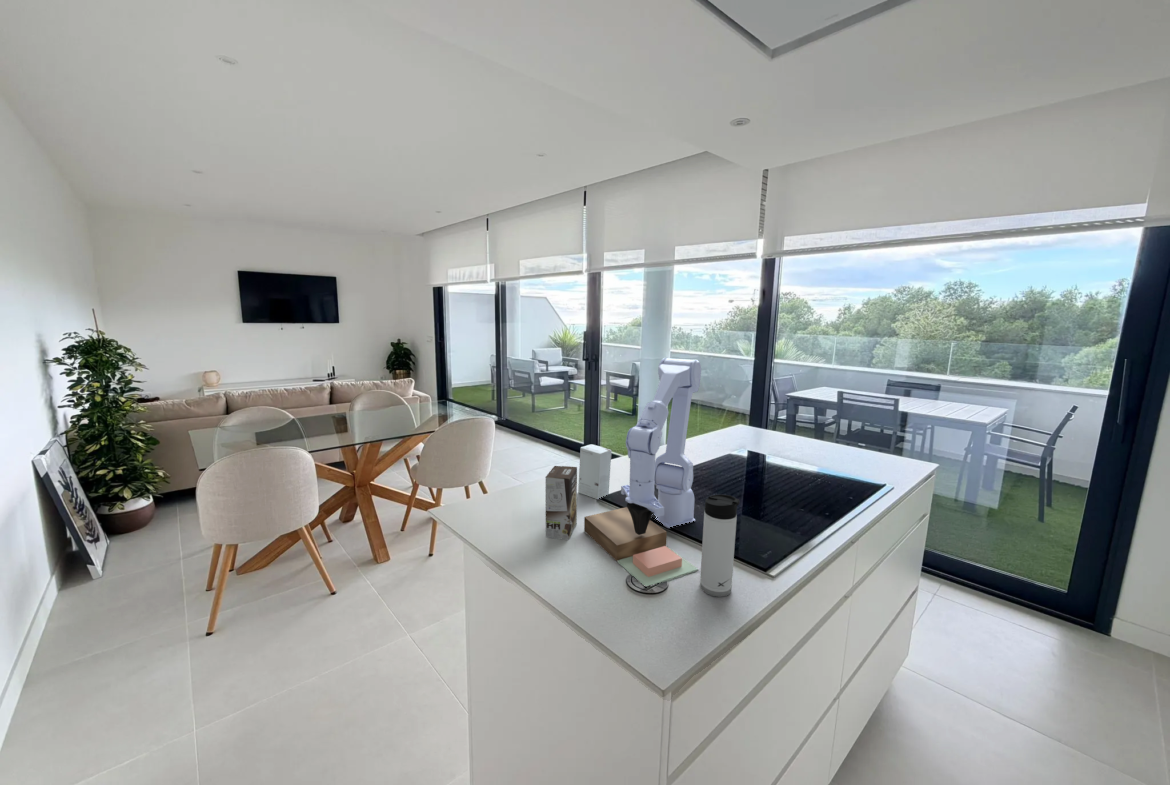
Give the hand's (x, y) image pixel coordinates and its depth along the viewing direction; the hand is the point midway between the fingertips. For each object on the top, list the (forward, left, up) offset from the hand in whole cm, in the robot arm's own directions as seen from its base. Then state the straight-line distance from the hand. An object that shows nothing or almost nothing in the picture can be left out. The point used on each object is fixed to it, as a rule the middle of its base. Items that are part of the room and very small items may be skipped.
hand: (640, 532), depth 107 cm
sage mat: (0, +7, -5) cm, 8 cm away
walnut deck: (0, -7, -5) cm, 8 cm away
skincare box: (-7, -35, -5) cm, 36 cm away
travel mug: (-6, +19, -5) cm, 21 cm away
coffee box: (+12, -18, -5) cm, 22 cm away
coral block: (0, +7, -2) cm, 7 cm away
